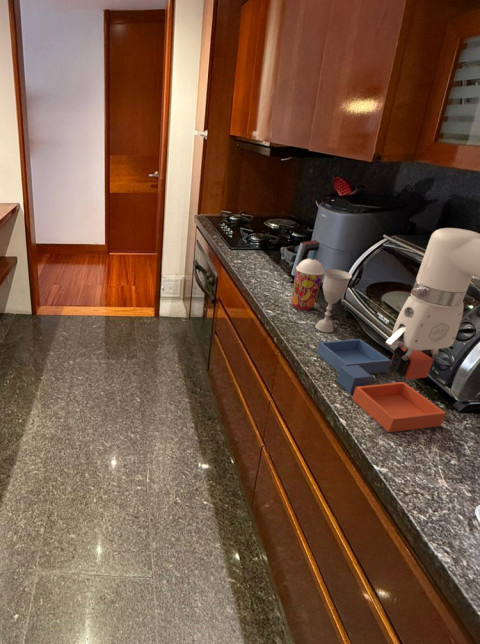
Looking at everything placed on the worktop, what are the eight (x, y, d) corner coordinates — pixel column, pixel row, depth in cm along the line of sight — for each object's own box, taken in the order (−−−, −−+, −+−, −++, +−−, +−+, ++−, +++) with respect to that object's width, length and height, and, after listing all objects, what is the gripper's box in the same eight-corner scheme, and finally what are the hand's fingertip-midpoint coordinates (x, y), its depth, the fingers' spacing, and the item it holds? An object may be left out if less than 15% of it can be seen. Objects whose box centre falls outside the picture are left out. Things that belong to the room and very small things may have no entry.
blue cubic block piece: (353, 380, 95) (357, 364, 93) (367, 392, 91) (372, 376, 89) (336, 381, 95) (340, 366, 93) (350, 393, 91) (354, 378, 89)
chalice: (342, 334, 115) (357, 278, 108) (319, 334, 115) (333, 278, 108) (329, 322, 121) (342, 269, 115) (307, 322, 122) (319, 269, 115)
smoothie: (288, 299, 136) (299, 245, 129) (315, 303, 133) (328, 249, 125) (288, 309, 129) (299, 253, 122) (316, 314, 126) (329, 257, 118)
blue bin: (356, 349, 107) (360, 338, 106) (387, 371, 98) (391, 360, 97) (316, 353, 106) (319, 342, 105) (343, 376, 97) (346, 364, 95)
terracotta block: (407, 364, 84) (414, 346, 82) (426, 377, 79) (434, 359, 78) (389, 366, 83) (395, 348, 81) (407, 379, 79) (414, 361, 77)
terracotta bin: (399, 393, 90) (403, 381, 89) (440, 426, 81) (446, 413, 80) (352, 399, 89) (355, 386, 88) (388, 432, 80) (393, 419, 78)
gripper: (415, 304, 70) (386, 386, 77) (496, 299, 72) (460, 379, 79) (381, 287, 76) (358, 363, 84) (456, 282, 79) (427, 357, 86)
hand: (408, 370), depth 81 cm, fingers closed on terracotta block, 4 cm apart
